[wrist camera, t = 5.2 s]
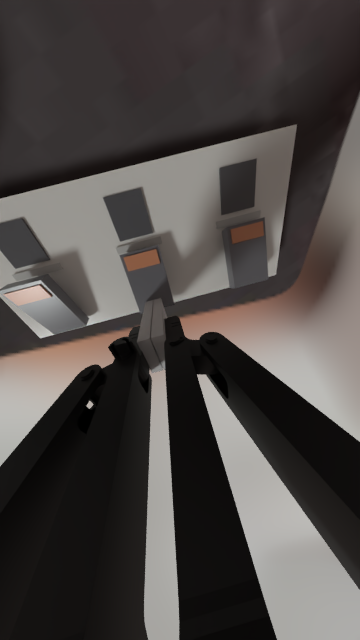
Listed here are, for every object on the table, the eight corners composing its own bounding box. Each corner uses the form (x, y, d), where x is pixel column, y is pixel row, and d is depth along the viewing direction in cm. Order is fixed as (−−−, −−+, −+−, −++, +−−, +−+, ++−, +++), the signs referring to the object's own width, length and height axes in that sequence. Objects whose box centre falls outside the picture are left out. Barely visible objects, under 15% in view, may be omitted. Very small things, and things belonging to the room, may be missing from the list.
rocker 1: (7, 284, 12) (-5, 292, 11) (47, 273, 12) (39, 280, 11) (59, 326, 16) (53, 335, 15) (89, 318, 16) (85, 326, 15)
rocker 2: (123, 257, 13) (118, 254, 12) (159, 247, 13) (158, 244, 12) (142, 311, 15) (140, 314, 14) (173, 302, 15) (174, 304, 14)
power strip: (-103, 245, 14) (-200, 246, 10) (263, 153, 14) (300, 121, 10) (2, 337, 20) (-33, 358, 16) (255, 269, 20) (277, 275, 17)
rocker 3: (221, 231, 13) (227, 226, 12) (256, 222, 13) (265, 216, 12) (229, 287, 15) (235, 288, 14) (260, 279, 15) (269, 279, 14)
